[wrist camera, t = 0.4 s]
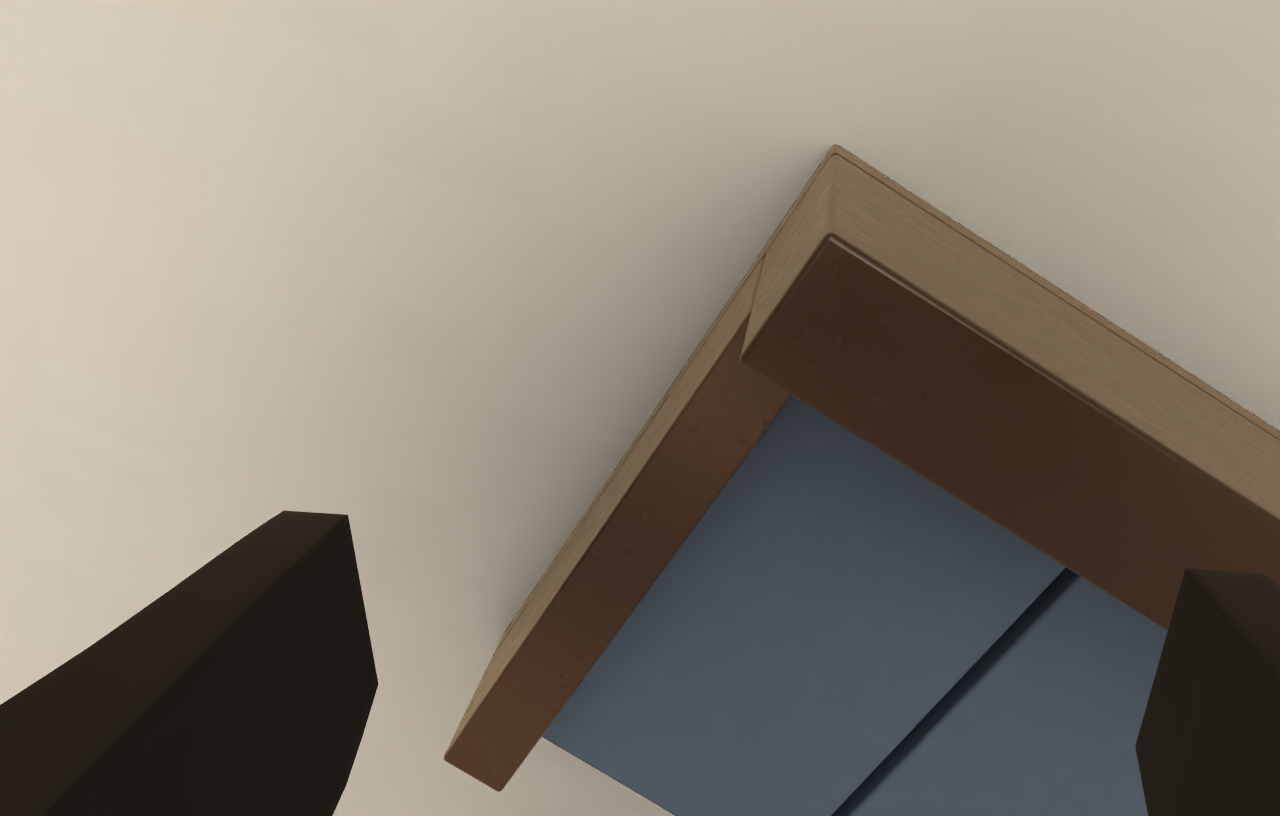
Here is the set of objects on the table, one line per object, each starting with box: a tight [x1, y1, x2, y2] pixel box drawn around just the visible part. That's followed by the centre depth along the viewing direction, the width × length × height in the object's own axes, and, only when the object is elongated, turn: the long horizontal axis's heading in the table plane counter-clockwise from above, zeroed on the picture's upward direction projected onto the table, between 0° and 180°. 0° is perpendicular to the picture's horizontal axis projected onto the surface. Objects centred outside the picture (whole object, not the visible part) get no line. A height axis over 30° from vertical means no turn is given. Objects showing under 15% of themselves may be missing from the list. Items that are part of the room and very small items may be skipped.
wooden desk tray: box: [444, 145, 1280, 816], centre depth 19 cm, size 12×20×6 cm, turn 59°
